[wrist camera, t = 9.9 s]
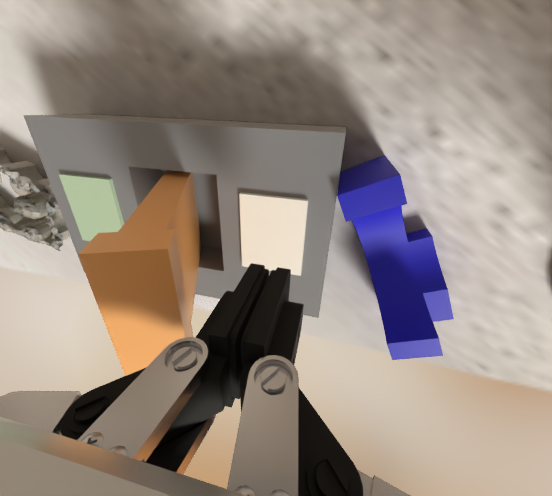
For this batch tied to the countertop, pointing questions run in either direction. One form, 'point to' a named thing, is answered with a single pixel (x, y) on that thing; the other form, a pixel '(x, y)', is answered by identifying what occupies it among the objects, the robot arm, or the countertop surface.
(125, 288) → the breaker lever
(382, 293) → the cable clip
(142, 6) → the countertop surface
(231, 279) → the breaker box
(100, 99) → the countertop surface
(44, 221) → the egg carton
